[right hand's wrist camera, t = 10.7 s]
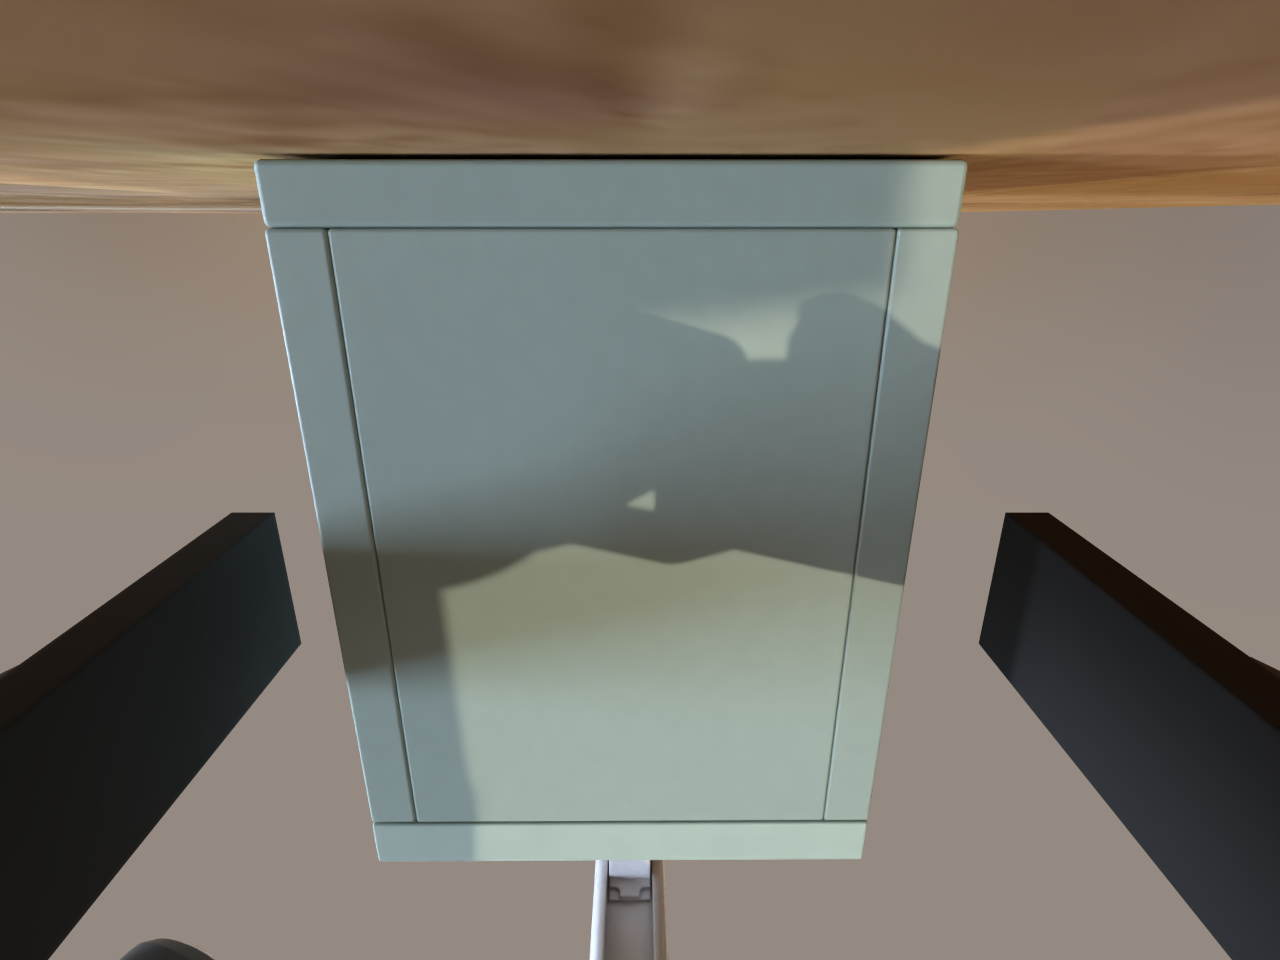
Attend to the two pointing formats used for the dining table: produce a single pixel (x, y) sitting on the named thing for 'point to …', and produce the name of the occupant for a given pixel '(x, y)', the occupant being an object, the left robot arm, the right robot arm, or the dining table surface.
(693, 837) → the lid
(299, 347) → the chest
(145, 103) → the dining table surface
